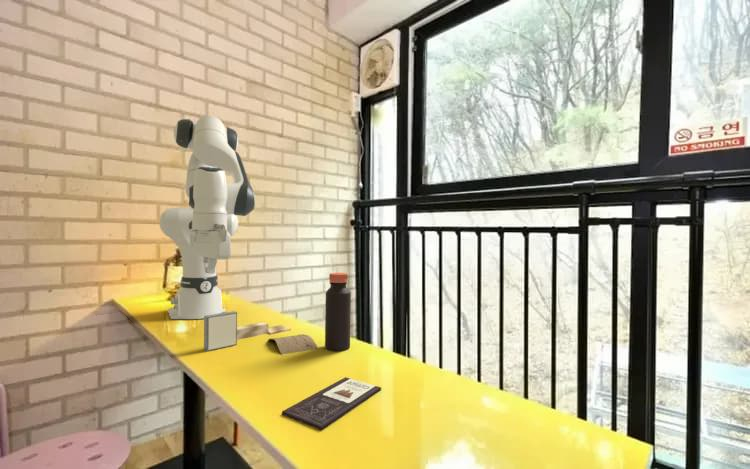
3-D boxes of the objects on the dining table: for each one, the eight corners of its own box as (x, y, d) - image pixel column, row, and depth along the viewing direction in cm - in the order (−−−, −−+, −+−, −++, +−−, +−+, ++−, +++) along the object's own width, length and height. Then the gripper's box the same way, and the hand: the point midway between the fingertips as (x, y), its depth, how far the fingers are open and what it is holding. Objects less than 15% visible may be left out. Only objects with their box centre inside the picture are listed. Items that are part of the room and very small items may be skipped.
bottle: (355, 347, 100) (356, 274, 99) (336, 353, 95) (337, 276, 95) (338, 341, 104) (339, 271, 104) (319, 347, 99) (320, 273, 99)
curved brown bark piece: (266, 343, 104) (266, 333, 104) (300, 337, 110) (300, 328, 110) (282, 358, 92) (282, 348, 92) (319, 352, 98) (319, 342, 98)
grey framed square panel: (203, 349, 96) (204, 315, 96) (233, 343, 102) (234, 311, 102) (206, 351, 95) (207, 317, 94) (237, 345, 100) (237, 312, 100)
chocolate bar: (281, 411, 63) (345, 377, 78) (281, 416, 63) (345, 381, 78) (321, 427, 58) (381, 387, 74) (321, 433, 58) (381, 392, 74)
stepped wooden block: (238, 341, 104) (238, 330, 104) (229, 336, 108) (229, 326, 108) (291, 330, 116) (291, 321, 116) (281, 326, 120) (281, 317, 120)
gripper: (237, 224, 98) (236, 276, 99) (207, 224, 113) (207, 269, 113) (213, 223, 94) (212, 278, 94) (185, 224, 108) (185, 270, 108)
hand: (209, 273), depth 104 cm, fingers closed
